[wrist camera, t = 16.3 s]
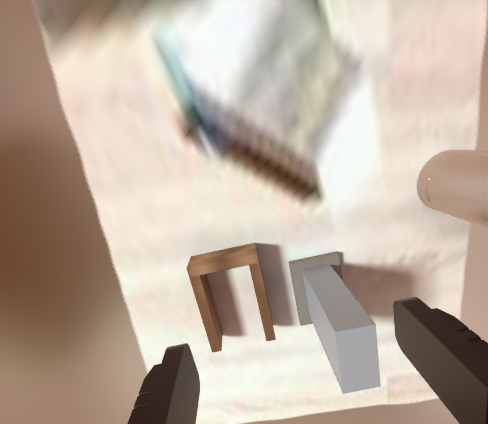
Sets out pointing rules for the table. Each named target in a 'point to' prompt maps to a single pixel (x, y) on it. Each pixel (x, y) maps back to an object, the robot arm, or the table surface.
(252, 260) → the frame
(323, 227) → the table surface
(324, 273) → the block
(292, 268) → the pad
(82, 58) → the table surface
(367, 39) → the table surface
